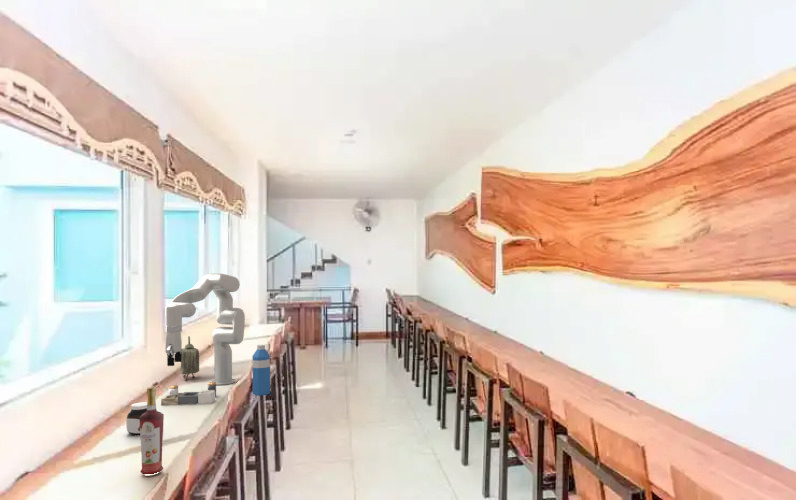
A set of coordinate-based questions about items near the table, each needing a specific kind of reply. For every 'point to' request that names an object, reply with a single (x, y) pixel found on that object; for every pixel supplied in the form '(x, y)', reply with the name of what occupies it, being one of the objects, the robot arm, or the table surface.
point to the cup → (206, 397)
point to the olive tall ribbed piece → (189, 360)
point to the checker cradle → (188, 398)
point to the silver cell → (174, 391)
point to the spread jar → (135, 417)
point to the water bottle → (261, 371)
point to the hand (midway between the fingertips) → (174, 363)
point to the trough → (169, 400)
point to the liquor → (151, 436)
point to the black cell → (212, 386)
